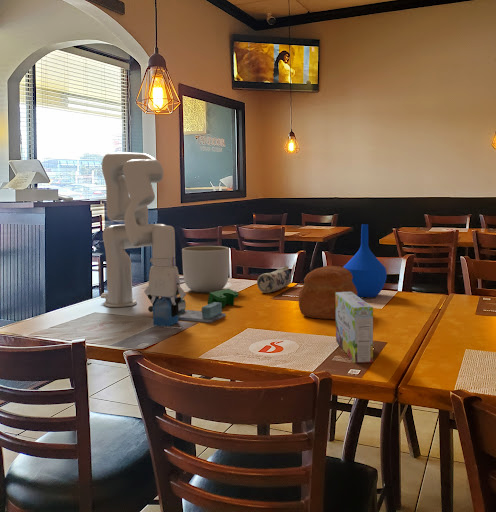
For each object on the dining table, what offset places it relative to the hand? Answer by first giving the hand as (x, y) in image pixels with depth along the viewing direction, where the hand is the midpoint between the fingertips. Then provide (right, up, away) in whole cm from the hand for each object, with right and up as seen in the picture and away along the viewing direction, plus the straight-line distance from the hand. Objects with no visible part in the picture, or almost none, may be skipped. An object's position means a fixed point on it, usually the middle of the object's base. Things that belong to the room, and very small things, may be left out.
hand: (165, 314), depth 190 cm
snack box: (+57, -7, -34) cm, 67 cm away
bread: (+57, -1, +14) cm, 59 cm away
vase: (+76, +3, +45) cm, 89 cm away
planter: (+9, +4, +61) cm, 62 cm away
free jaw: (-2, 0, +14) cm, 14 cm away
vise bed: (+8, -2, +10) cm, 13 cm away
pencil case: (+40, +4, +61) cm, 73 cm away
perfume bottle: (0, -3, 0) cm, 3 cm away
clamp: (+18, 0, +28) cm, 34 cm away
